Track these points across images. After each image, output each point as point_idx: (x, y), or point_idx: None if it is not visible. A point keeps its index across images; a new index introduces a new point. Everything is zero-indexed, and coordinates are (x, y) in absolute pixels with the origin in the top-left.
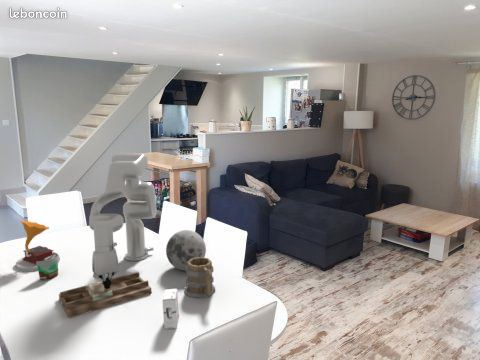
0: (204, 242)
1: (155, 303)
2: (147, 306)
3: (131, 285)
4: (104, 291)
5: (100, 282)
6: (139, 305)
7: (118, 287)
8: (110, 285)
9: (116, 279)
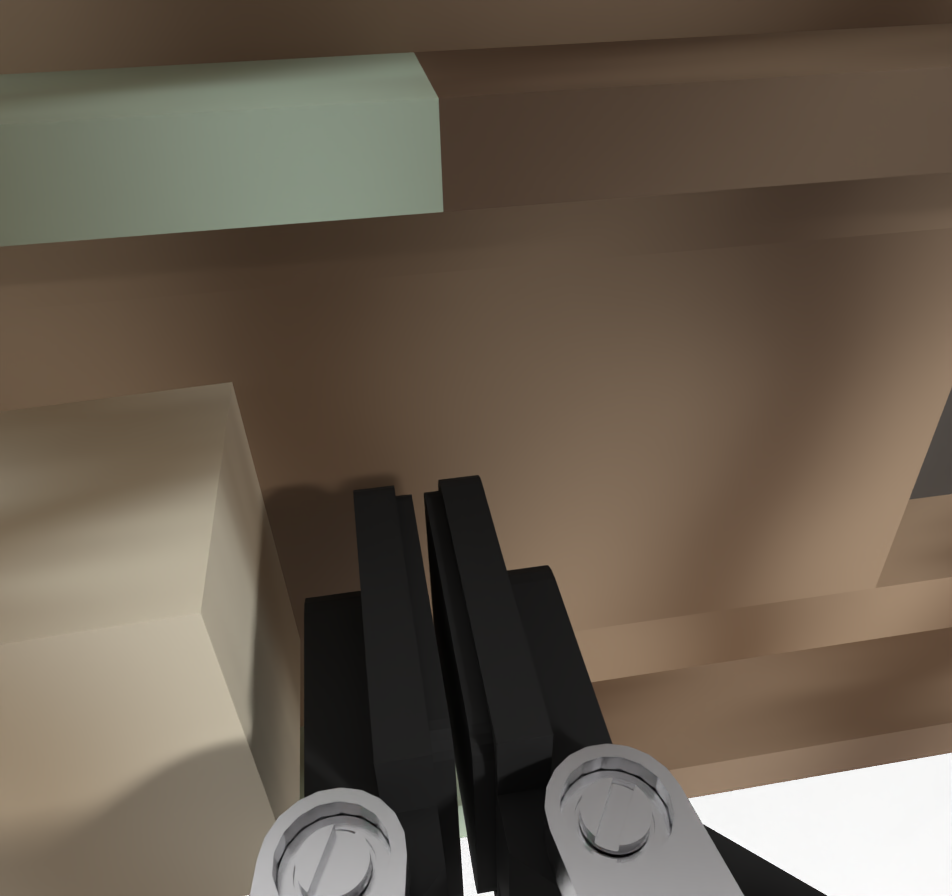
0: None
1: (872, 830)
2: (764, 855)
3: (922, 748)
4: (326, 525)
5: (210, 712)
6: (707, 822)
7: (719, 468)
8: (597, 238)
9: (934, 161)
